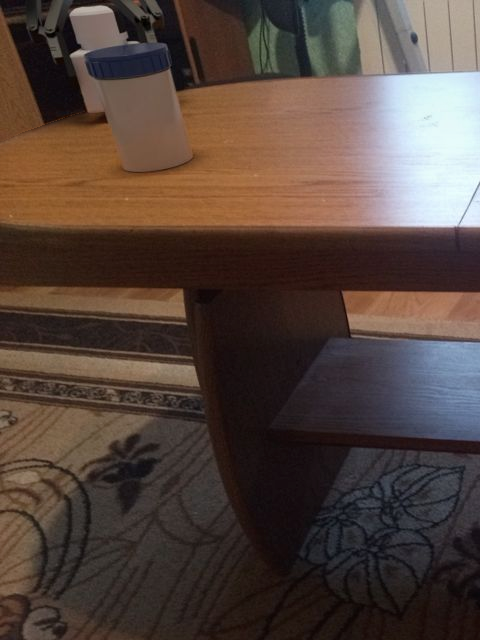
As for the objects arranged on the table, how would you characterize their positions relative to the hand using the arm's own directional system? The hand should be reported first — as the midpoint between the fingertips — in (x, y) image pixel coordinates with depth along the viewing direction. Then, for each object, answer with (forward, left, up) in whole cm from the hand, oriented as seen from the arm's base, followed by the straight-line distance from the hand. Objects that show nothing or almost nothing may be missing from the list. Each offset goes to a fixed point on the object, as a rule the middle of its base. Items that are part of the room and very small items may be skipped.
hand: (115, 77), depth 92 cm
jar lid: (+15, -17, +5) cm, 24 cm away
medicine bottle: (-2, +3, -4) cm, 5 cm away
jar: (+15, -17, -5) cm, 24 cm away
